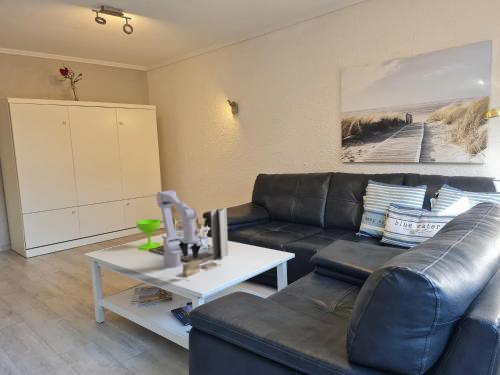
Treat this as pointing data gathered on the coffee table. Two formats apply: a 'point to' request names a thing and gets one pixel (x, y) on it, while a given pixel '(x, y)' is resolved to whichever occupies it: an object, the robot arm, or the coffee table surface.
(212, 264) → the offcut upper
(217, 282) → the coffee table surface
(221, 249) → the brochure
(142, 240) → the coffee table surface
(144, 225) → the wineglass
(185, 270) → the tan wooden block
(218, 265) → the rack
